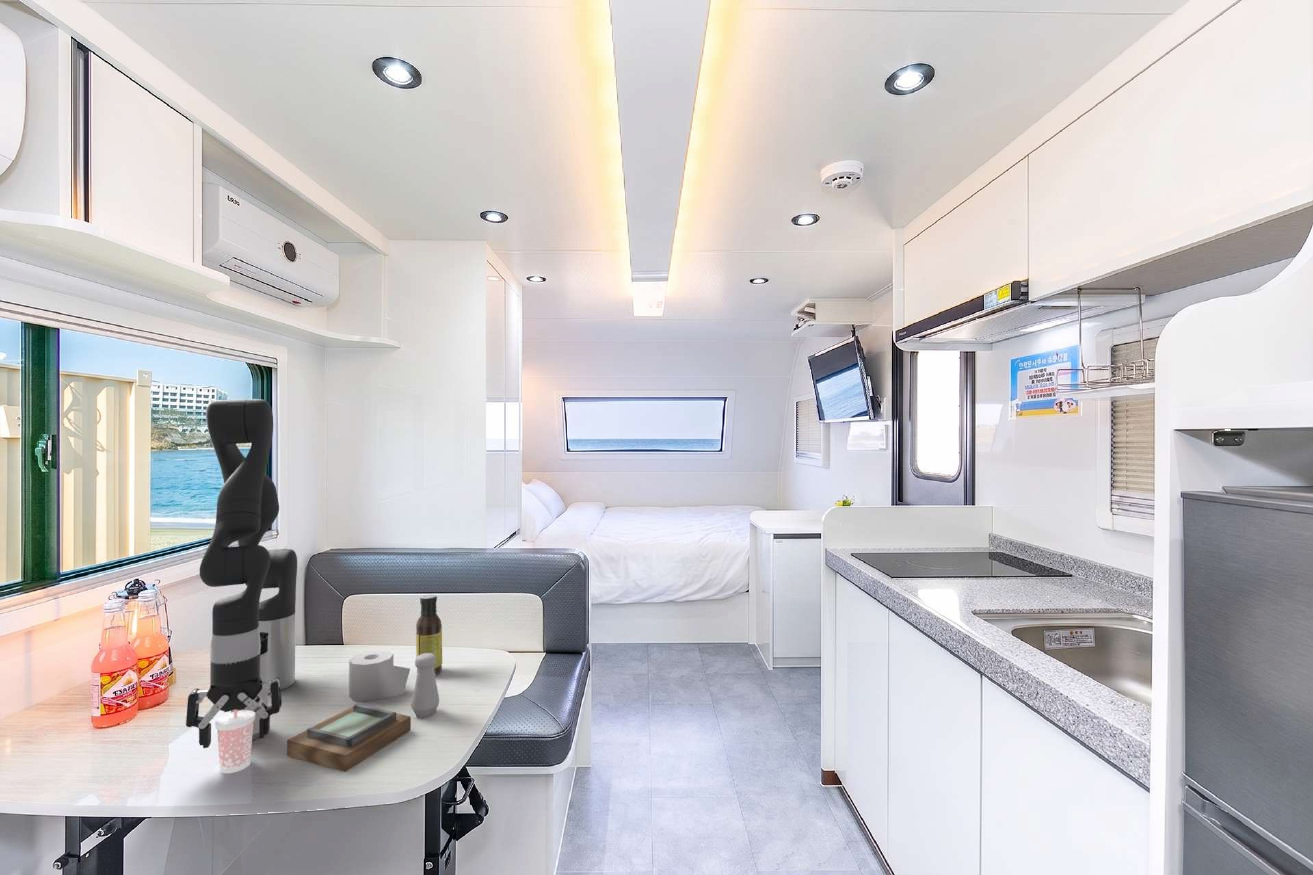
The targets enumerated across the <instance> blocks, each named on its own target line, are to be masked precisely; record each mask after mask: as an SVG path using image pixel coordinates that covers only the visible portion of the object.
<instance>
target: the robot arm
mask: <svg viewBox="0 0 1313 875" xmlns="http://www.w3.org/2000/svg"><path fill="white" fill-rule="evenodd" d="M205 420H206V421H205V422H206V427H207V431H208V434H209V437H210V442H211V443H212V446H213V449H214V451H215V455H216V457H217V461H218V465H219V467H220V470H221V474H222V478H223V485H222V486H221V489H220V491H219V493H218V497H217V501H216V515H215V527H214V531H213V534H212V537H211V540H210V541H209V545H208V546H207V549H206V550H205V552H204V555H203V556H202V560H201V561H200V564H199V565H200V566H199V577H200V579H201V581H202V582H203V584H204V585H206V586H207V587H211V588H218V587H219V588H220V587H227V586H236V585H237V586H238V585H244V584H245V586H246V588H245V589H244V590H243V591H241V592H240V593H237V594H234V595H231V596H227V597H224V598H221V599H219V600H217V601H215V603H214V604H213V606H212V611H211V612H212V613H211V614H212V615H211V616H212V621H211V622H212V634H211V635H212V636H211V641H210V650H209V652H210V663H209V665H210V670H209V671H210V678H209V679H210V686H209V689H200V688H194V689H193V690H192V691H191V692H190V694H189V695H188V696H187V706H186V718H185V725H186V727H187V728H192V727H195V728H198V744H199V746H202V748H203V749H208V748H210V745H211V742H212V722H211V721H212V720H213V719H214V717H215V716H216V715H217V714H218V712H219V711H221V712H223V713H229V712H231V711H232V710H242V709H245V708H246V707H249V708H250V709H251V710H252V711H253V712H256V713H257V714H258V715H259V716H260V717H261V718H260V720H259V738H258V739H260V740H262V739H265V737H266V735H268V733H269V731H270V729H271V716H272V715H274V714H275V715H276V714H278V713H279V712H280V711H281V707H282V705H283V703H282V692H281V691H282V690H284V689H287V688H289V687H291V686H292V685H294V683H295V681H296V600H297V598H296V596H297V593H296V592H297V577H298V556H297V553H296V551H295V550H294V549H292V548H291V549H289V548H286V549H285V548H282V549H267V548H266V547H264V546H263V545H260V542H261V540H262V538H263V537H264V536H265V534H266V532H267V531H268V530H269V529H270V527H271V526H272V525H273V524H274V522H275V521H276V519H277V517H278V515H279V512H280V504H279V503H280V502H279V497H278V492H277V488H276V485H275V483H274V481H273V480H272V479H271V478H270V477H269V476H268V475H267V474H266V470H267V466H268V463H269V462H268V461H269V457H270V456H269V455H270V450H271V446H272V439H273V433H274V415H273V411H272V406H271V405H270V403H269V402H268V401H267V400H265V399H261V398H260V399H259V398H246V399H245V398H241V399H239V398H237V399H217V400H212V401H211V402H209V403H208V405H207V406H206V409H205ZM239 444H251V445H250V448H249V450H248V452H247V455H246V456H244V454H243V453H242V452H241V450H240V449H239V446H238V445H239ZM235 542H237V543H238V544H237V546H230V545H232V544H233V543H235ZM276 588H277V589H278V592H277V594H275V595H274V596H272V597H270V598H267V599H264V600H261V594H262V590H263V589H265V590H266V589H276ZM260 600H261V601H260ZM260 632H265V633H268V646H267V647H268V681H266V682H262V680H261V678H260V649H261V643H260ZM263 688H264V689H266V691H267V693H268V694H270V699H271V705H270V706H269V704H268V705H267V704H266V703H265V702H264V701H263V699H262V698H261V697H260V696H259V695H258V694H259V692H260V691H261V690H262V689H263ZM206 697H207V699H208V700H209V701H210V702H211V703H212V704H213V705H212V707H210V709H209V710H208V711H207V713H206V714H205V715H204V716H199V714H200V713H199V712H200V704H201V703H202V702H203V701H204V699H205V698H206Z"/></svg>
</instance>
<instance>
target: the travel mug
mask: <svg viewBox="0 0 1313 875" xmlns="http://www.w3.org/2000/svg"><path fill="white" fill-rule="evenodd" d="M260 643H261V649H260V678H261V680H262V682H266V681H268V647H267V646H268V633H265V632H260ZM258 695H259V696H260V697H261V698H262V699H263V701H264V702H265V703H266V704H267V705H268V706H269V693H267V691H266V689H264V688H263V689H262V690H261V691H260V692H259V694H258ZM245 710H248V711H252V710H251V709H250V708H249V707H246V708H245V709H242V710H237V711H245ZM233 712H234V710H232V711H230V713H233ZM260 718H261V717H260V716H259V715H258V714H257V713H256V712H255V720H254V721H253V734H252V741H253V740H256V739H259V720H260Z"/></svg>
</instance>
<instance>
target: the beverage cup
mask: <svg viewBox="0 0 1313 875" xmlns="http://www.w3.org/2000/svg"><path fill="white" fill-rule="evenodd" d="M254 720H255V712H253V711H248V710H245V711H237V710H234V712H233V713H231V712H230V713H229V712H228V713H226V714H224V715H223V716H220V717H218V718H217V719H216V720H215V722H214V725H215V729H216V730H217V743H218V746H217V747H218V757H219V758H218V760H219V771H221V773H222V774H232V773H237V772H240V771H242V770H244V769H246V768H247V767H249V766H250V764H251V761H252V760H251V759H252V746H253V740H252V734H253V721H254Z"/></svg>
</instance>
